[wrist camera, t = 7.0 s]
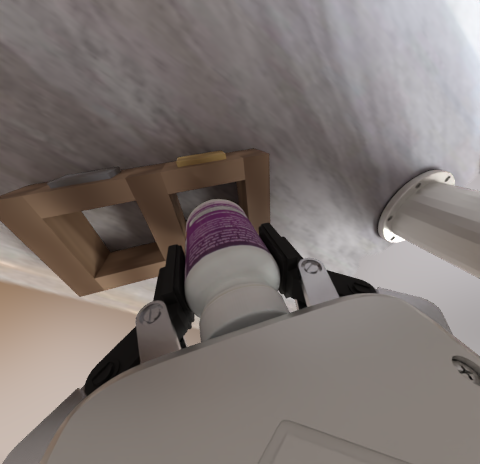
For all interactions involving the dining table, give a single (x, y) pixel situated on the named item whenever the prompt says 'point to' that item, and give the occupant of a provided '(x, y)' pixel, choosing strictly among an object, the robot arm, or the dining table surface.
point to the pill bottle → (228, 271)
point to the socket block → (121, 191)
